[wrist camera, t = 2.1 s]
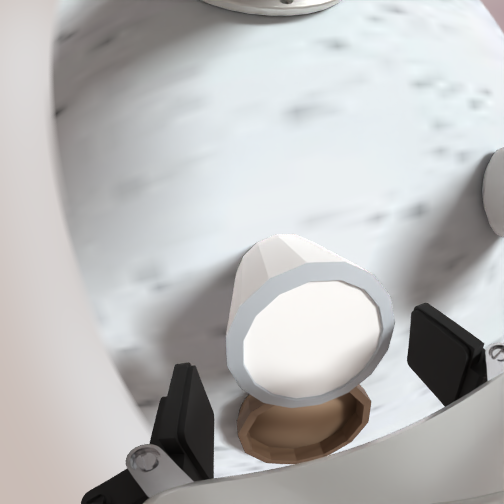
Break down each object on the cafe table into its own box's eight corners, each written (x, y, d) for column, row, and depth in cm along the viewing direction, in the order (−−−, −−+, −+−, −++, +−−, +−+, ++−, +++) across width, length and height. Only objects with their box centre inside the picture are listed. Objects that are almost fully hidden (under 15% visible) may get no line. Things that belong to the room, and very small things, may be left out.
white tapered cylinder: (341, 315, 18) (390, 383, 11) (238, 340, 18) (245, 422, 11) (331, 212, 16) (398, 242, 9) (212, 236, 16) (202, 286, 9)
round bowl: (225, 382, 19) (225, 403, 17) (363, 350, 19) (375, 366, 17) (251, 454, 22) (253, 471, 20) (357, 428, 22) (364, 444, 20)
